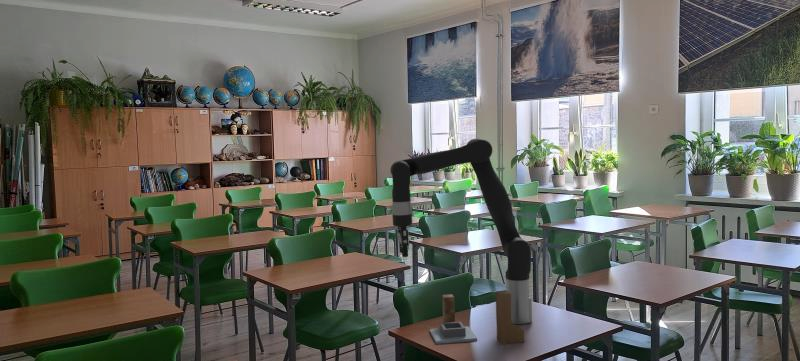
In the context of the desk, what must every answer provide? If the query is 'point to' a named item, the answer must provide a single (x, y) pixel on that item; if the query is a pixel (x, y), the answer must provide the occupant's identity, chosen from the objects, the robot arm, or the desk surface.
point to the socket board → (452, 333)
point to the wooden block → (506, 320)
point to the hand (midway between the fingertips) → (403, 254)
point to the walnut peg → (448, 308)
